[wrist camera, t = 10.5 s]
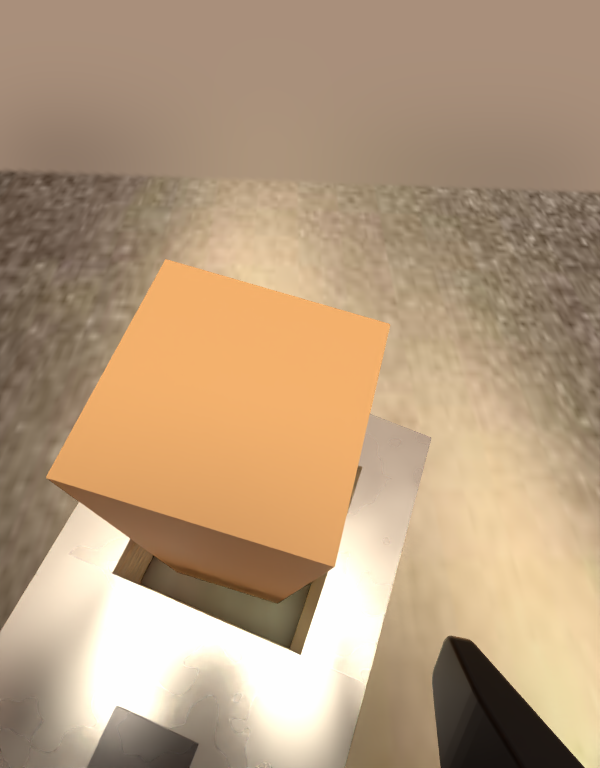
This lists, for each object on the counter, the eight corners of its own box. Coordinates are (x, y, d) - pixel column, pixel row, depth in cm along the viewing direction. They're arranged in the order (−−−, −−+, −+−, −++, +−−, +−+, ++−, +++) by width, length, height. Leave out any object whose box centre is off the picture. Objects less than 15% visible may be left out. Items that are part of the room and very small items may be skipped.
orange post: (277, 603, 18) (334, 567, 6) (175, 571, 18) (45, 478, 6) (305, 500, 20) (390, 324, 8) (213, 472, 20) (165, 259, 8)
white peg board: (185, 1213, 11) (157, 1487, 8) (-166, 1021, 12) (-342, 1190, 9) (399, 469, 21) (432, 436, 17) (189, 386, 21) (177, 337, 18)
